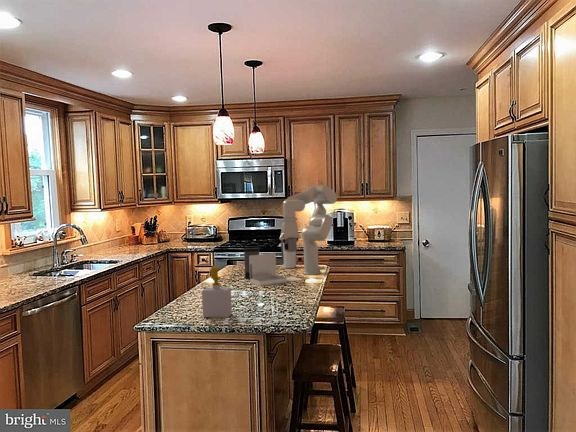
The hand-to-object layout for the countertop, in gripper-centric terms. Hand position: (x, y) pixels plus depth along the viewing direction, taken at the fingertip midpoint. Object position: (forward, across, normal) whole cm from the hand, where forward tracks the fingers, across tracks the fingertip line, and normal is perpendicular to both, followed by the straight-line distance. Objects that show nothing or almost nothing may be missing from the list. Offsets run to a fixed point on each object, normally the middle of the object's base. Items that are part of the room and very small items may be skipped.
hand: (290, 248), depth 307 cm
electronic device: (+20, +18, -19) cm, 33 cm away
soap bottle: (+20, +69, +55) cm, 91 cm away
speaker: (+20, -22, -43) cm, 52 cm away
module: (+1, 0, 0) cm, 1 cm away
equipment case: (+20, +16, 0) cm, 25 cm away
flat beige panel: (+20, 0, 0) cm, 20 cm away
